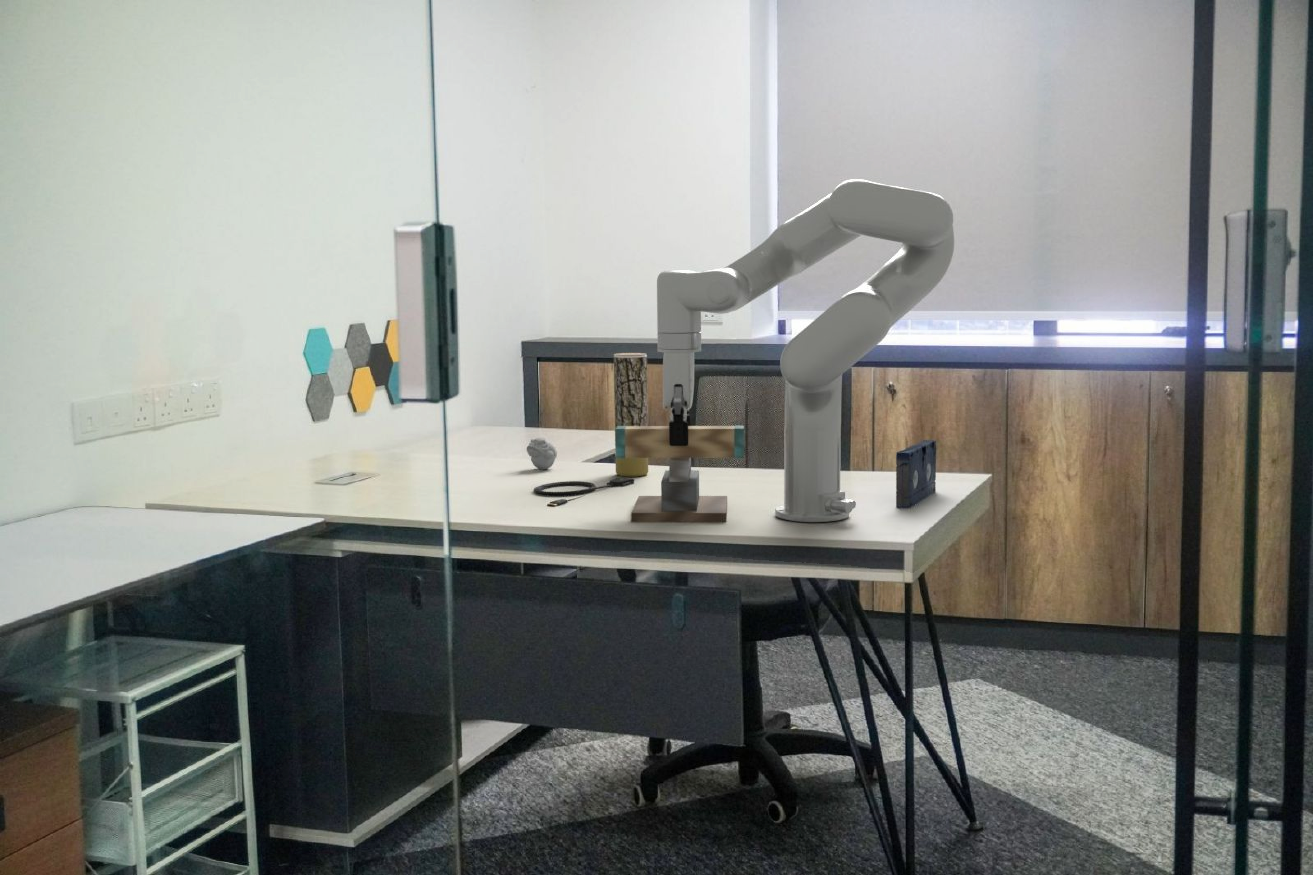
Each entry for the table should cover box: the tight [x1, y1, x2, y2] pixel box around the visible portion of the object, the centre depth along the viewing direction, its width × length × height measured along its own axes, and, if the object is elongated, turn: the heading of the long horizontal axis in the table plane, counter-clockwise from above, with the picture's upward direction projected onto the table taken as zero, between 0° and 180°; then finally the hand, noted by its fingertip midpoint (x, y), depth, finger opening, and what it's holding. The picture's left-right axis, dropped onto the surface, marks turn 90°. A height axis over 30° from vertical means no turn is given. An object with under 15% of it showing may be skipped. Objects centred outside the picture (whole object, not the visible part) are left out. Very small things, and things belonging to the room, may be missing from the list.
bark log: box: [613, 352, 649, 478], centre depth 260 cm, size 7×7×25 cm
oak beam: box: [615, 425, 745, 459], centre depth 219 cm, size 22×4×5 cm, turn 86°
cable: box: [533, 476, 635, 508], centre depth 243 cm, size 14×28×2 cm, turn 150°
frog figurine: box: [526, 436, 558, 471], centre depth 270 cm, size 6×7×7 cm
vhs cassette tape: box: [895, 439, 937, 509], centre depth 230 cm, size 18×3×10 cm, turn 152°
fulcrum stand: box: [630, 458, 728, 523], centre depth 220 cm, size 16×16×10 cm
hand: (680, 441), depth 219 cm, fingers open, 9 cm apart
